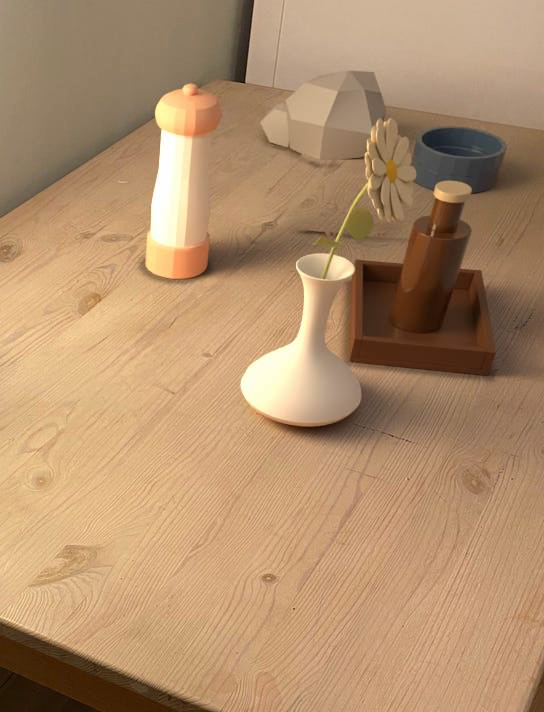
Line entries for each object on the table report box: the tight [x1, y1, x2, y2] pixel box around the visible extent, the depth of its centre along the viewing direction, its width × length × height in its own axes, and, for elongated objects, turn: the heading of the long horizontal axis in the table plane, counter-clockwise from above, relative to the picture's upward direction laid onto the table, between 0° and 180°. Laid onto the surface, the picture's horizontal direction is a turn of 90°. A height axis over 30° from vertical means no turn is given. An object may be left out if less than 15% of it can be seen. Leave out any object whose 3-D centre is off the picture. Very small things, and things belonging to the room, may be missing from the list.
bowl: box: [410, 125, 508, 195], centre depth 125 cm, size 11×11×5 cm
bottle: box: [389, 181, 472, 333], centre depth 96 cm, size 6×6×14 cm
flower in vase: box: [240, 117, 416, 427], centre depth 83 cm, size 13×11×25 cm
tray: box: [348, 259, 497, 376], centre depth 100 cm, size 14×18×3 cm
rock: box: [259, 70, 387, 161], centre depth 134 cm, size 18×20×10 cm
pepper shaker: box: [145, 83, 223, 280], centre depth 104 cm, size 7×7×19 cm
